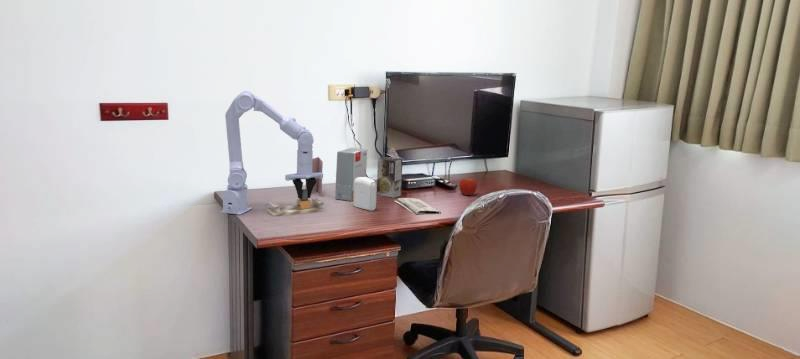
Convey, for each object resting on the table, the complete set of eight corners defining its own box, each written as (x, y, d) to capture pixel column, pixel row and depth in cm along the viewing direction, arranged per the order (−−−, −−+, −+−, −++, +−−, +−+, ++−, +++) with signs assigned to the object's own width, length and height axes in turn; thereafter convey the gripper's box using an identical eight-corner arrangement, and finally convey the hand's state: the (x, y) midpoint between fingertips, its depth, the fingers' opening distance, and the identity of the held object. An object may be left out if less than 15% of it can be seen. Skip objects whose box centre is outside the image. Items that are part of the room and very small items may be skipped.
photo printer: (351, 206, 251) (352, 175, 249) (359, 204, 254) (360, 174, 252) (369, 211, 244) (370, 180, 242) (377, 210, 248) (378, 179, 245)
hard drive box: (351, 201, 259) (353, 153, 255) (334, 199, 261) (335, 151, 257) (365, 194, 273) (367, 148, 269) (349, 192, 276) (351, 146, 272)
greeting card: (315, 190, 275) (316, 156, 272) (331, 192, 273) (332, 158, 270) (303, 196, 264) (304, 160, 261) (319, 198, 262) (320, 162, 259)
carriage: (301, 209, 238) (301, 191, 236) (296, 206, 241) (297, 189, 240) (311, 208, 240) (311, 190, 238) (306, 205, 243) (306, 188, 242)
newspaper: (393, 202, 263) (393, 197, 263) (420, 204, 267) (421, 198, 267) (412, 216, 242) (413, 210, 242) (441, 218, 246) (442, 212, 246)
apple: (472, 192, 286) (473, 176, 285) (479, 197, 279) (480, 179, 277) (456, 193, 284) (457, 176, 283) (462, 197, 277) (463, 179, 275)
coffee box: (401, 195, 274) (403, 158, 271) (393, 198, 269) (395, 160, 265) (383, 192, 278) (385, 156, 275) (375, 194, 273) (377, 157, 270)
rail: (273, 216, 231) (273, 206, 230) (267, 211, 237) (267, 202, 236) (324, 211, 241) (324, 202, 241) (316, 207, 247) (316, 198, 247)
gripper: (290, 165, 230) (289, 201, 233) (326, 163, 237) (325, 198, 240) (283, 162, 236) (282, 197, 239) (319, 160, 243) (318, 194, 246)
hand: (304, 197), depth 240 cm, fingers closed on carriage, 3 cm apart
